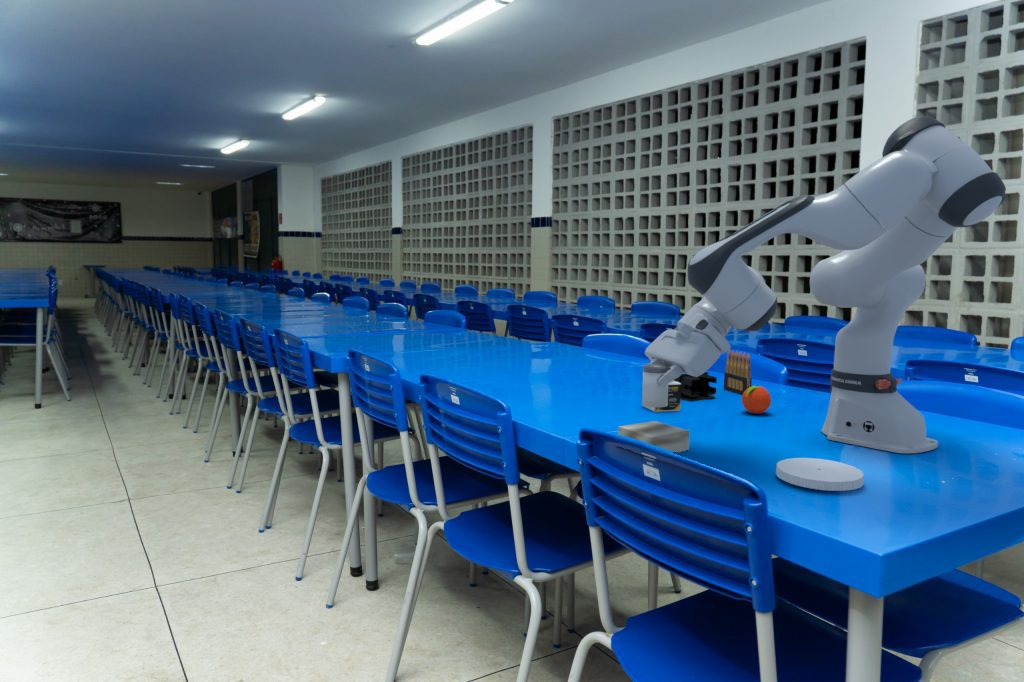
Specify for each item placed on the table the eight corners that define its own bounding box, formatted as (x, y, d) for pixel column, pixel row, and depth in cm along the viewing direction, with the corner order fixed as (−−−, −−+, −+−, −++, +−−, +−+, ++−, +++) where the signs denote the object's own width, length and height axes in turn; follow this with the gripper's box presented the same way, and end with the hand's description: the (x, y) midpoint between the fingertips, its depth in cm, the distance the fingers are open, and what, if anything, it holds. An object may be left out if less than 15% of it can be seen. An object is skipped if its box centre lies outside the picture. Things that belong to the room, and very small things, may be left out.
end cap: (699, 394, 204) (700, 370, 203) (717, 398, 198) (718, 374, 197) (671, 397, 200) (672, 372, 199) (688, 401, 193) (689, 376, 193)
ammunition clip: (723, 389, 211) (724, 348, 210) (728, 389, 212) (730, 348, 210) (745, 396, 201) (747, 353, 200) (751, 396, 202) (753, 353, 200)
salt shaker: (671, 404, 146) (673, 365, 145) (660, 408, 142) (661, 368, 141) (649, 401, 149) (650, 362, 148) (637, 405, 145) (638, 365, 144)
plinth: (688, 450, 145) (689, 430, 145) (651, 457, 140) (652, 437, 139) (654, 439, 154) (654, 420, 153) (617, 445, 148) (618, 426, 148)
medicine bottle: (654, 412, 180) (656, 364, 178) (642, 406, 187) (643, 360, 185) (680, 410, 182) (682, 363, 180) (667, 405, 189) (668, 359, 187)
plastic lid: (766, 486, 124) (767, 472, 124) (786, 466, 136) (786, 453, 135) (856, 502, 116) (857, 487, 116) (868, 480, 128) (869, 466, 128)
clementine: (758, 418, 174) (759, 389, 173) (732, 413, 179) (734, 385, 179) (776, 414, 179) (777, 385, 178) (751, 409, 184) (752, 381, 184)
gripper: (666, 316, 155) (622, 363, 154) (715, 325, 135) (665, 379, 134) (684, 336, 157) (641, 383, 155) (735, 348, 137) (686, 401, 136)
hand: (653, 381), depth 145 cm, fingers closed on salt shaker, 5 cm apart
